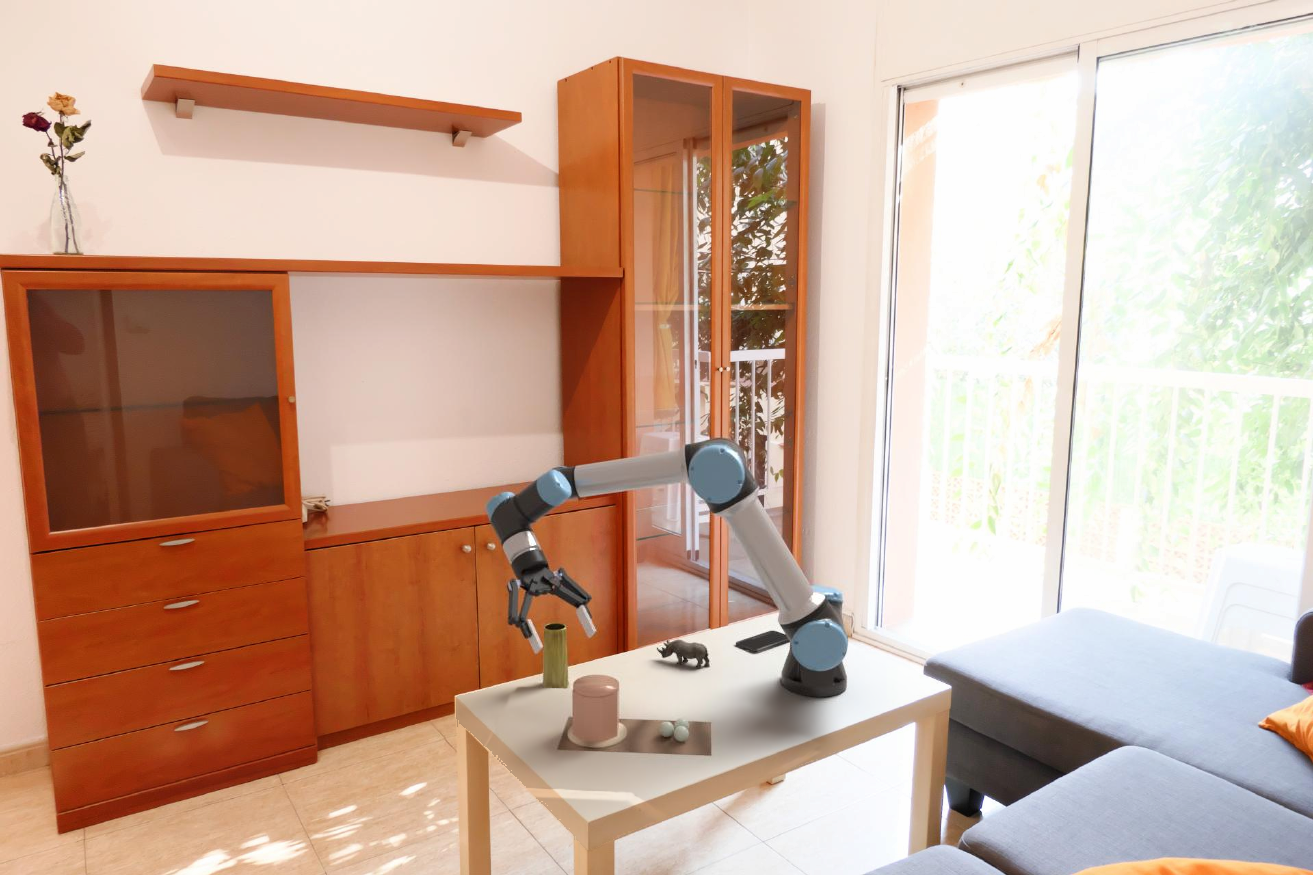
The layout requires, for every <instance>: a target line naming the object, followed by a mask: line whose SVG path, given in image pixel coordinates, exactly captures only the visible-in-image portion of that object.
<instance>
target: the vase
mask: <svg viewBox="0 0 1313 875" xmlns="http://www.w3.org/2000/svg"><path fill="white" fill-rule="evenodd" d="M542 655H543V656H542V658H543V663H542V665H543V666H542V684H541V686H542V687H543V689H567V688H569V684H570V682H569V668H568V667H569V666H568V647H567V625H566V624H564V622H563V623H562V622H550V623H545V625H543V654H542Z"/></svg>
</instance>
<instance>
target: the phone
mask: <svg viewBox="0 0 1313 875" xmlns="http://www.w3.org/2000/svg"><path fill="white" fill-rule="evenodd" d="M786 644H790V641H789V639H788V637H787V636H786V634H785V633H782V632H780V631H776V630H768V631H766V632H762V633H759V634H756V635H752V636H750V637H747V638H744V639H742V640H738V641H736V642H735V647H736V648H739V649H742V650H744V651H746V652H749V653H751V654H761V653H764V652H766V651H769V650H772V649H775V648H777V647H780V646H785V645H786Z"/></svg>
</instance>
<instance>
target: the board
mask: <svg viewBox="0 0 1313 875" xmlns="http://www.w3.org/2000/svg"><path fill="white" fill-rule="evenodd" d="M666 721H667V722H670V723H672V725H673V726H674V725H675V722H676V720H671V719H670V720H669V719H668V720H666V719H665V720H664V719H643V718H641V719H640V718H637V719H636V718H619V723H621V724H623V725H624V726H625V727H626V729H627V736H626V738H625V739H624V740H623V741H622V742H620V743H619V744H617V745H614V746H610V747H606V748H586V747H582V746H578V745H576V744H574V743H573V742H571V741H570V740H569V738H568V730H569V728H570V727H571V726H572V725H573V716H568V717H567V720H566V724H565V726H564V729H563V731H562V734H561V736H560V740H559V743H558V746H557V748H556V749H557V750H559V751H560V750H561V751H584V752H585V751H586V752H587V751H588V752H605V753H607V752H609V753H610V752H611V753H634V754H655V755H656V754H658V755H659V754H660V755H661V754H662V755H681V756H682V755H684V756H685V755H687V756H709V757H710V756H712V722H711V721H697V720H695V721H693V720H692V721H691V720H687V721H688V723H689V729H688V732H689V736H688V739H687V740H686V741H684V742H679V741H677V740H676V739H675V737H674V732H673V734H672V735H671V736H670V737H664V736H662V735H661V734H660V732H659V727H660V725H661V724H662V723H663V722H666ZM674 730H675V727H674Z"/></svg>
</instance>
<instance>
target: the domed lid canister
mask: <svg viewBox="0 0 1313 875" xmlns="http://www.w3.org/2000/svg"><path fill="white" fill-rule="evenodd" d="M571 694H572V696H571V697H572V698H571V699H572V708H571V709H572V717H573V735H574V736H576V737H578V738H579V739H581V740H582V741H588V742H604V741H606V740H609V739H611V738H614V737H616V736H617V735H618V730H619V719H620V682H619V680H618V679H617V678H615V677H612V676H609V675H605V674H590V675H585V676H581V677H578V678H577V679H575V680H574V681H573V684H572V693H571Z"/></svg>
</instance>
